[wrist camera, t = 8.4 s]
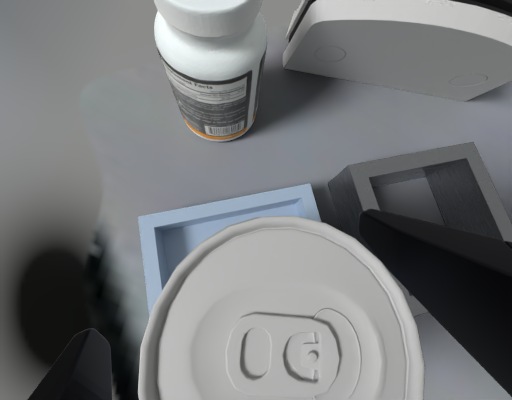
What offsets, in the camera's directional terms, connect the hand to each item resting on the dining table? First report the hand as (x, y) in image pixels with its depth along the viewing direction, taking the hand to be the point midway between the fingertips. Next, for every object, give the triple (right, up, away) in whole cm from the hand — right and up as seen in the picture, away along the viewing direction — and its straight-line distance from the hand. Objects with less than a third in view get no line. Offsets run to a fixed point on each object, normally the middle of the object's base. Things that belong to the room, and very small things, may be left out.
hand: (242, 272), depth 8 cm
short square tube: (+11, 0, +10) cm, 15 cm away
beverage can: (0, -3, +8) cm, 8 cm away
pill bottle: (-2, +9, +12) cm, 15 cm away
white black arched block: (+11, +13, +14) cm, 22 cm away
